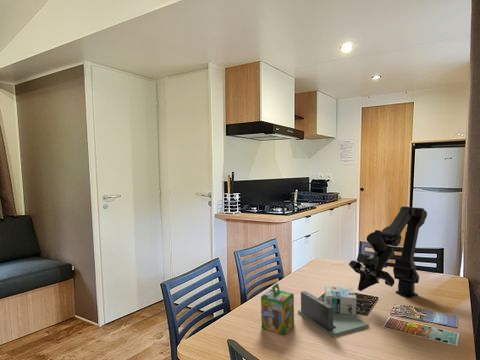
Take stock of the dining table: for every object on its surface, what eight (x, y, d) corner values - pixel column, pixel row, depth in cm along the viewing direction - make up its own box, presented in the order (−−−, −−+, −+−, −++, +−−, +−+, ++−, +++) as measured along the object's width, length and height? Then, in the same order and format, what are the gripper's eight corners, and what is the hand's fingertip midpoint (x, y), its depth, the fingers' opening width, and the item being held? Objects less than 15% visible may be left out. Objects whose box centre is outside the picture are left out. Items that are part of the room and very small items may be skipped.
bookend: (309, 310, 124) (309, 290, 124) (337, 329, 110) (337, 305, 109) (301, 312, 123) (300, 291, 122) (328, 331, 108) (328, 308, 108)
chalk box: (284, 335, 108) (284, 292, 107) (260, 329, 113) (260, 287, 112) (295, 324, 116) (294, 283, 115) (272, 318, 120) (271, 279, 120)
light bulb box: (356, 297, 120) (327, 295, 121) (356, 315, 120) (326, 313, 122) (351, 287, 130) (324, 285, 132) (351, 303, 130) (324, 301, 132)
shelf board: (331, 305, 131) (331, 302, 131) (368, 327, 113) (368, 324, 113) (298, 312, 125) (298, 310, 125) (332, 337, 106) (332, 334, 106)
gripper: (351, 240, 134) (331, 271, 130) (388, 251, 117) (366, 286, 113) (366, 256, 137) (346, 286, 133) (404, 269, 120) (382, 304, 116)
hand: (359, 290), depth 124 cm, fingers closed
